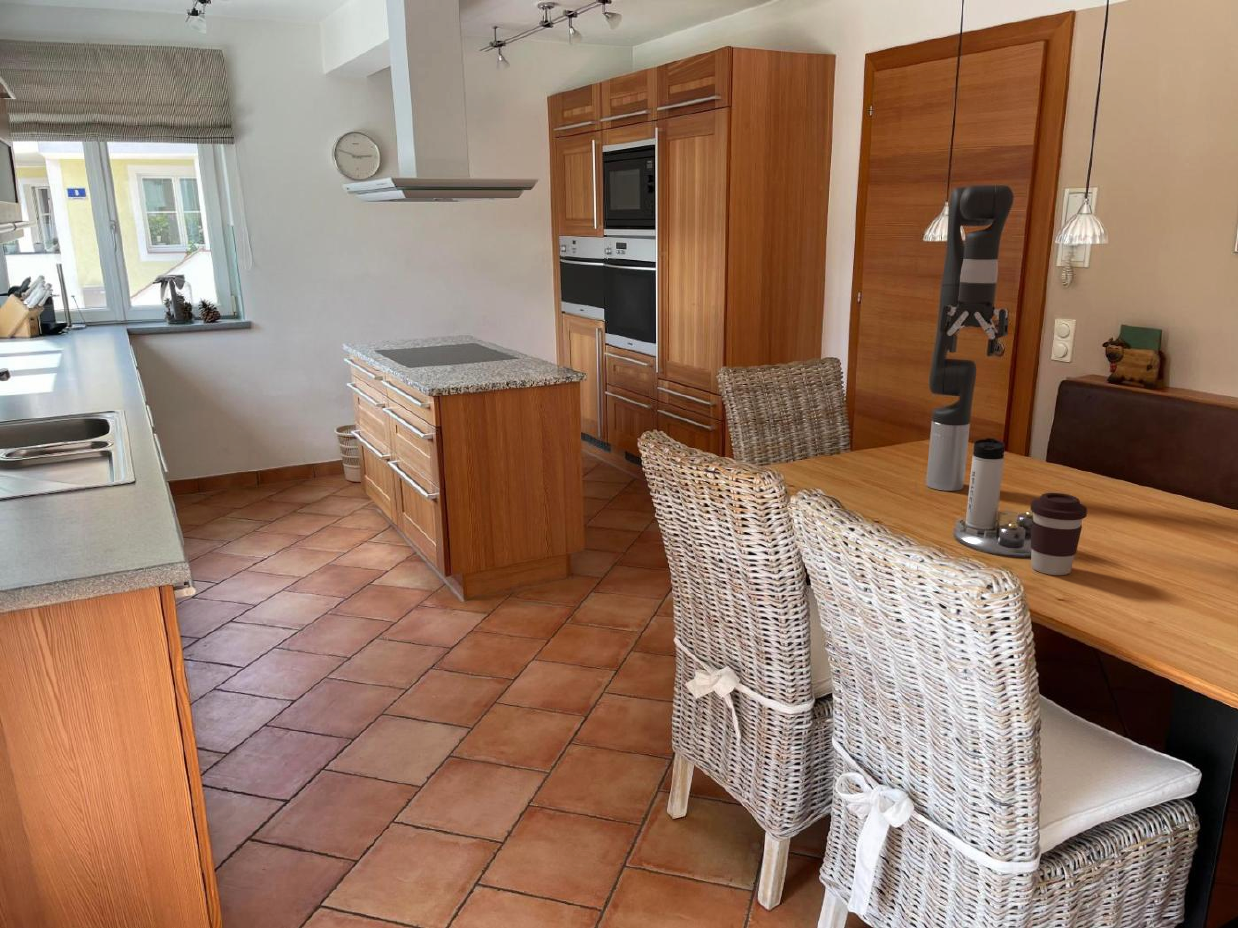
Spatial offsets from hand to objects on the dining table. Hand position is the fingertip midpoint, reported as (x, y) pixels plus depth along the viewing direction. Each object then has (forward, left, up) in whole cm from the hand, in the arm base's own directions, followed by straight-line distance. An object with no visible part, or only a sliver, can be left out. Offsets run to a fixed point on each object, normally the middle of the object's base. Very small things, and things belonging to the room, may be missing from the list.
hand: (970, 354), depth 202 cm
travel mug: (+9, +10, -37) cm, 39 cm away
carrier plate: (+9, +15, -38) cm, 42 cm away
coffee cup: (+20, +28, -38) cm, 51 cm away
